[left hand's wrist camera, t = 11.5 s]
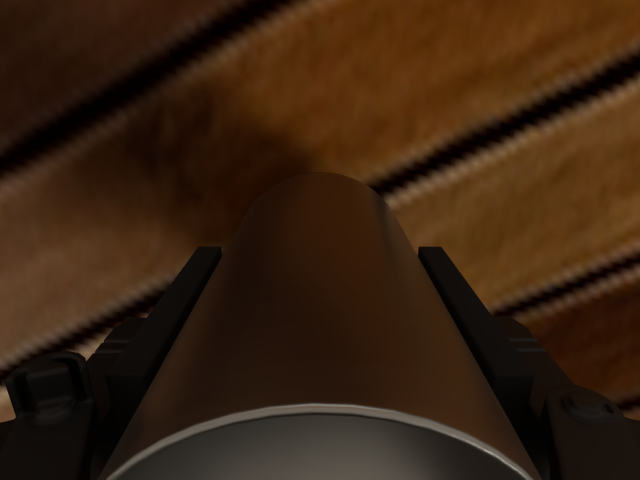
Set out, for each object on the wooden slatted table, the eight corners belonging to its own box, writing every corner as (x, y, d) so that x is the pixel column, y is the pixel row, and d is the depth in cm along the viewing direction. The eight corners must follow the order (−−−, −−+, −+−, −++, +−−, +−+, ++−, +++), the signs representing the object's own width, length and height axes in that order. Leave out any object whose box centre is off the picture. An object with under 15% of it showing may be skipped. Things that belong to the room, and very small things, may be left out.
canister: (299, 135, 15) (240, 294, 4) (437, 236, 16) (688, 570, 5) (206, 270, 17) (-16, 639, 6) (336, 350, 18) (362, 774, 7)
